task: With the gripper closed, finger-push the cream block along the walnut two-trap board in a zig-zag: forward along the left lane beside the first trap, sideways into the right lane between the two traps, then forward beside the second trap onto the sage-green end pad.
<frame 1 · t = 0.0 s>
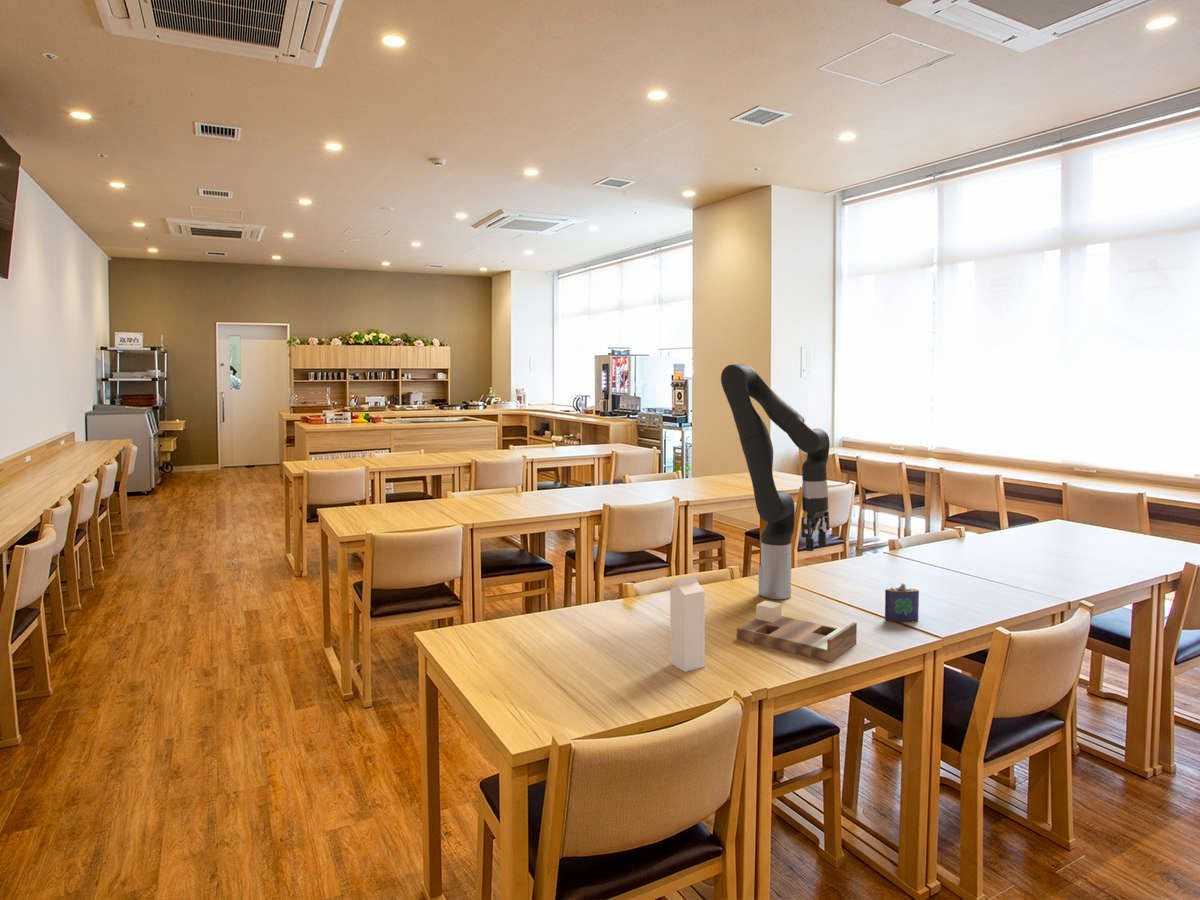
hand: (816, 548, 222), 17 cm above the table, tool pointing down, fingers open, 8 cm apart
flask: (901, 621, 207), on the table
block: (768, 618, 202), point 3 cm above the table, touching board
board: (795, 641, 193), on the table
milk: (687, 666, 178), on the table
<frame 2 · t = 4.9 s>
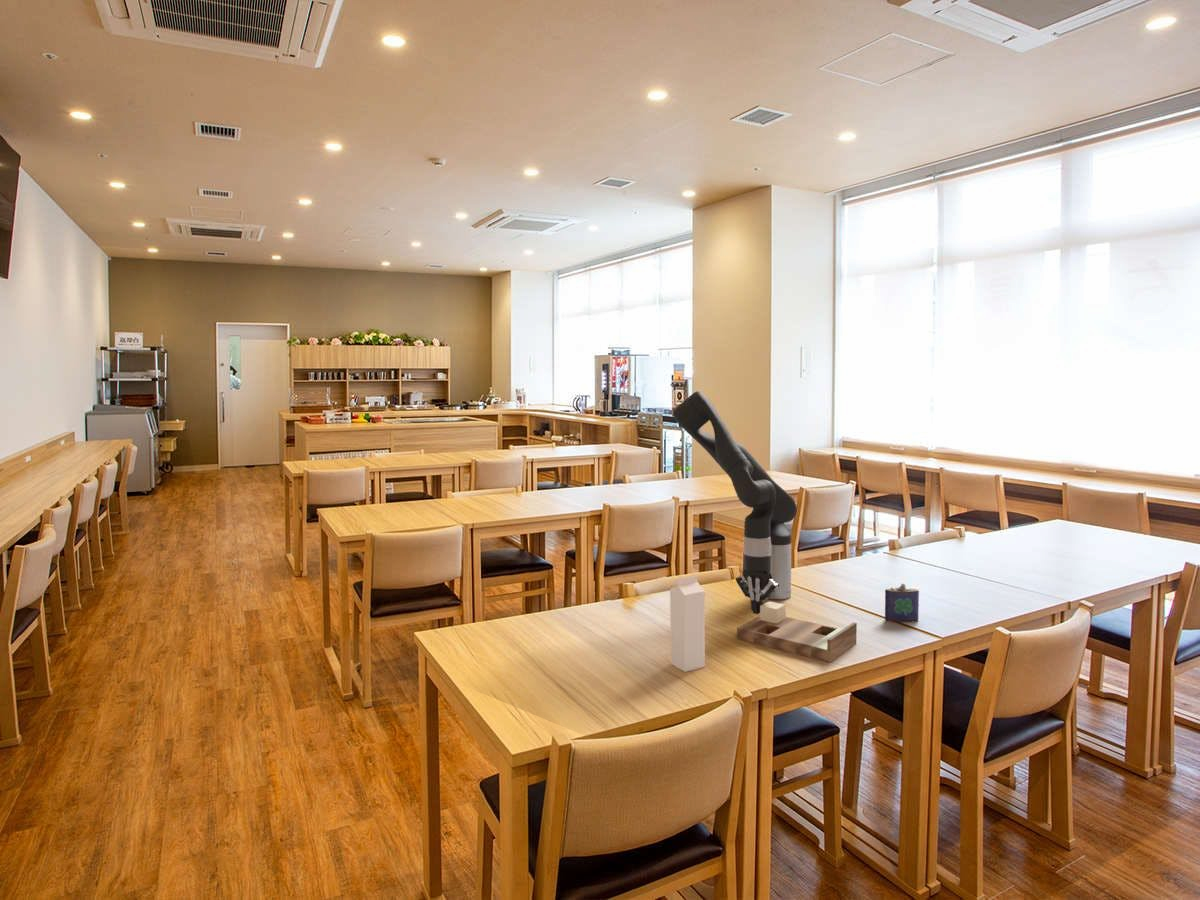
hand: (756, 613, 204), 4 cm above the table, tool pointing down, fingers closed
block: (772, 619, 201), point 3 cm above the table, touching gripper
everything else where it was.
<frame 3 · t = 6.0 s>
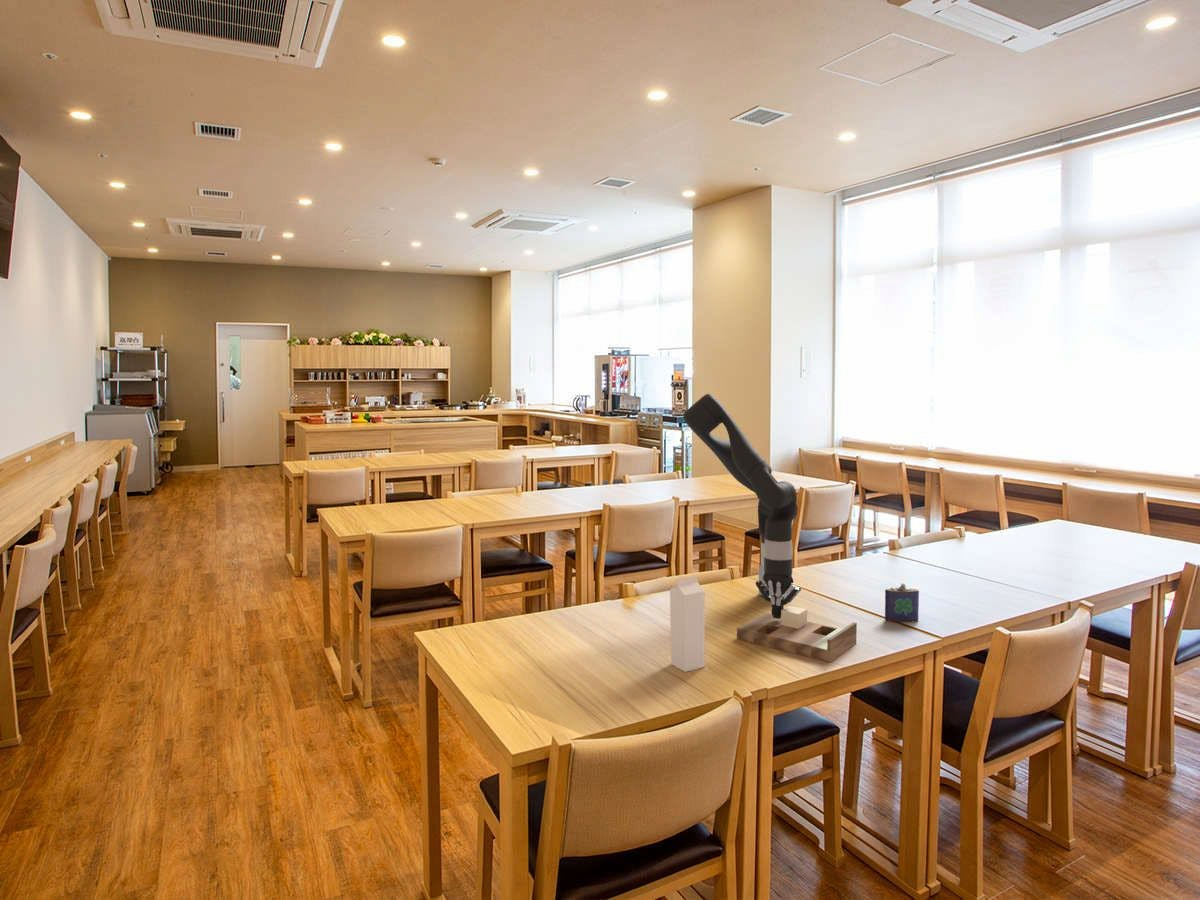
hand: (777, 617, 200), 4 cm above the table, tool pointing down, fingers closed
block: (794, 624, 197), point 3 cm above the table, touching gripper
everything else where it was.
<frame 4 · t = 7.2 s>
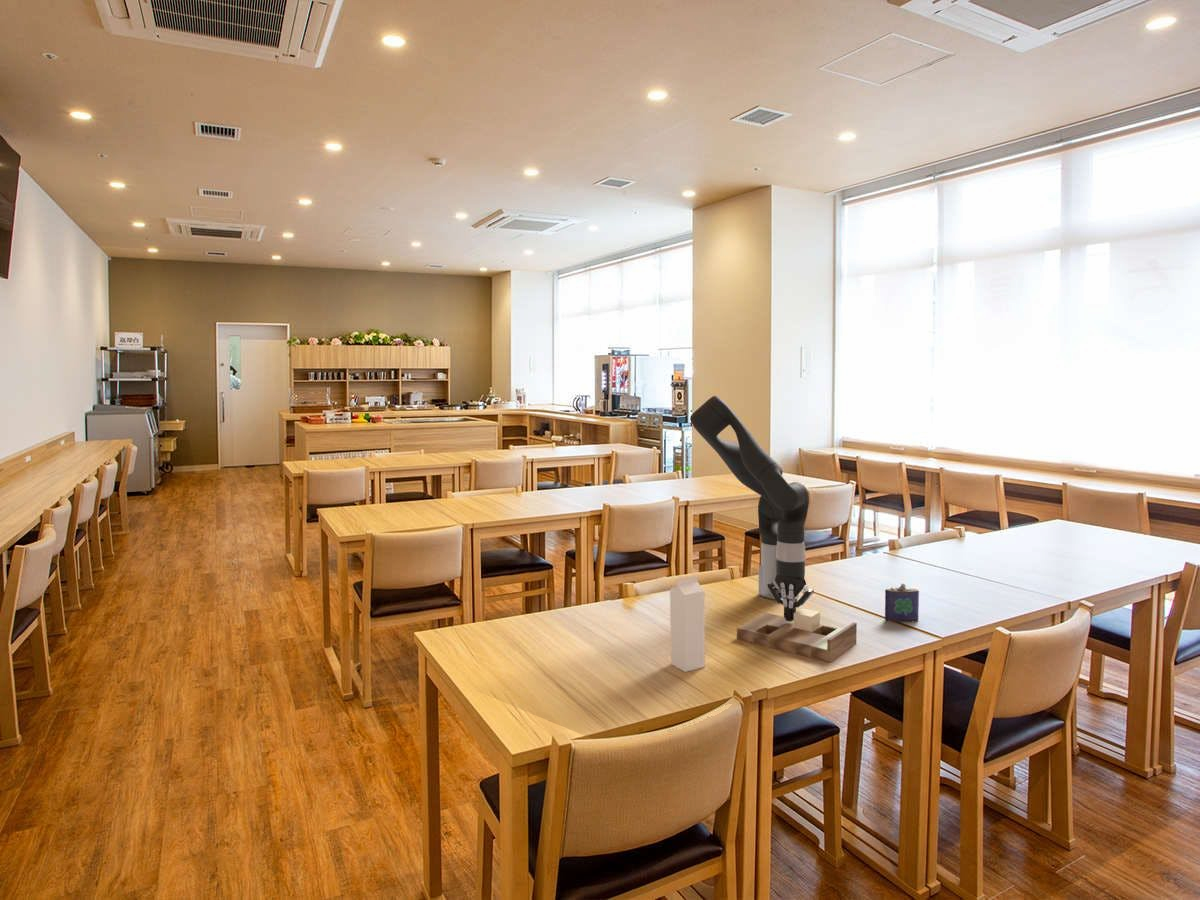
hand: (789, 620, 198), 4 cm above the table, tool pointing down, fingers closed
block: (806, 627, 195), point 3 cm above the table, touching board
everything else where it was.
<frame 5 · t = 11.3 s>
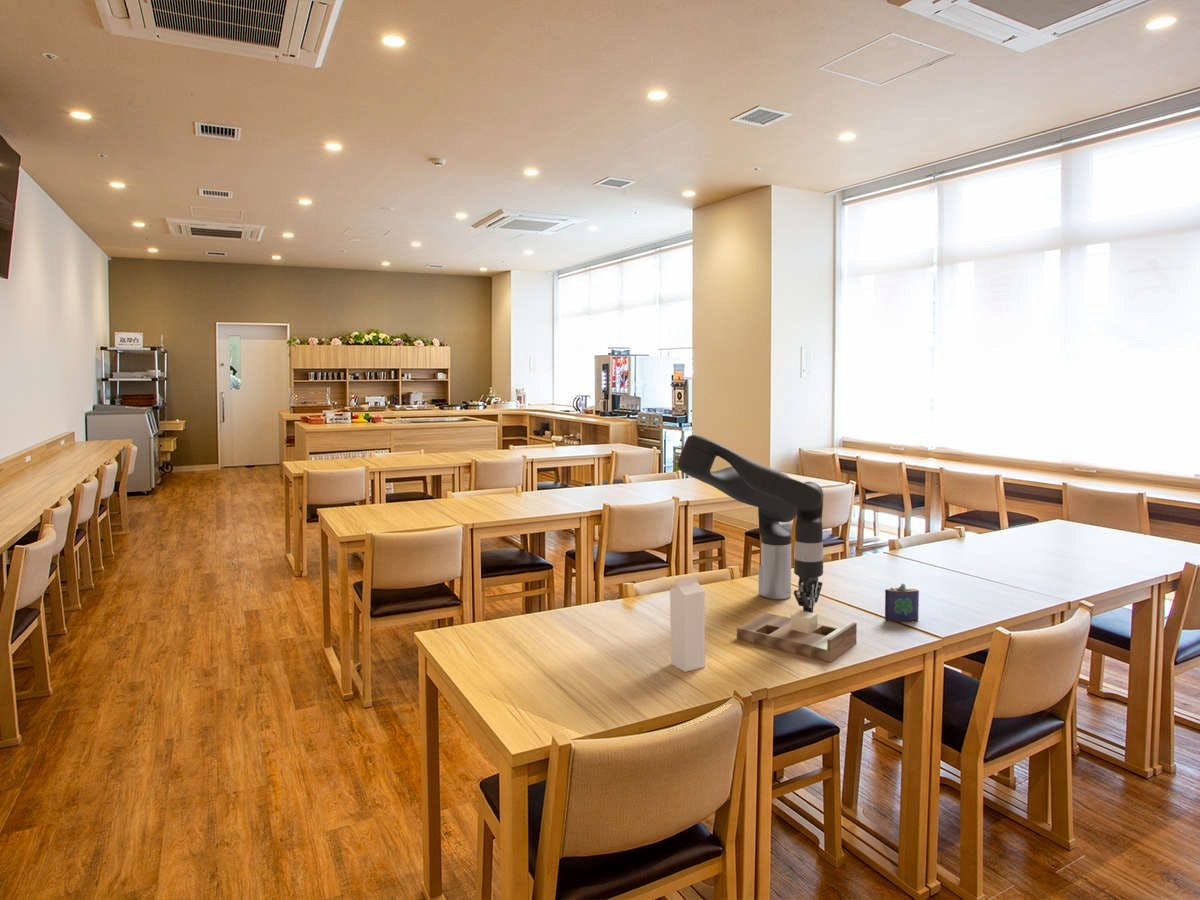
hand: (808, 620, 198), 4 cm above the table, tool pointing down, fingers closed
block: (804, 629, 193), point 3 cm above the table, touching gripper
everything else where it was.
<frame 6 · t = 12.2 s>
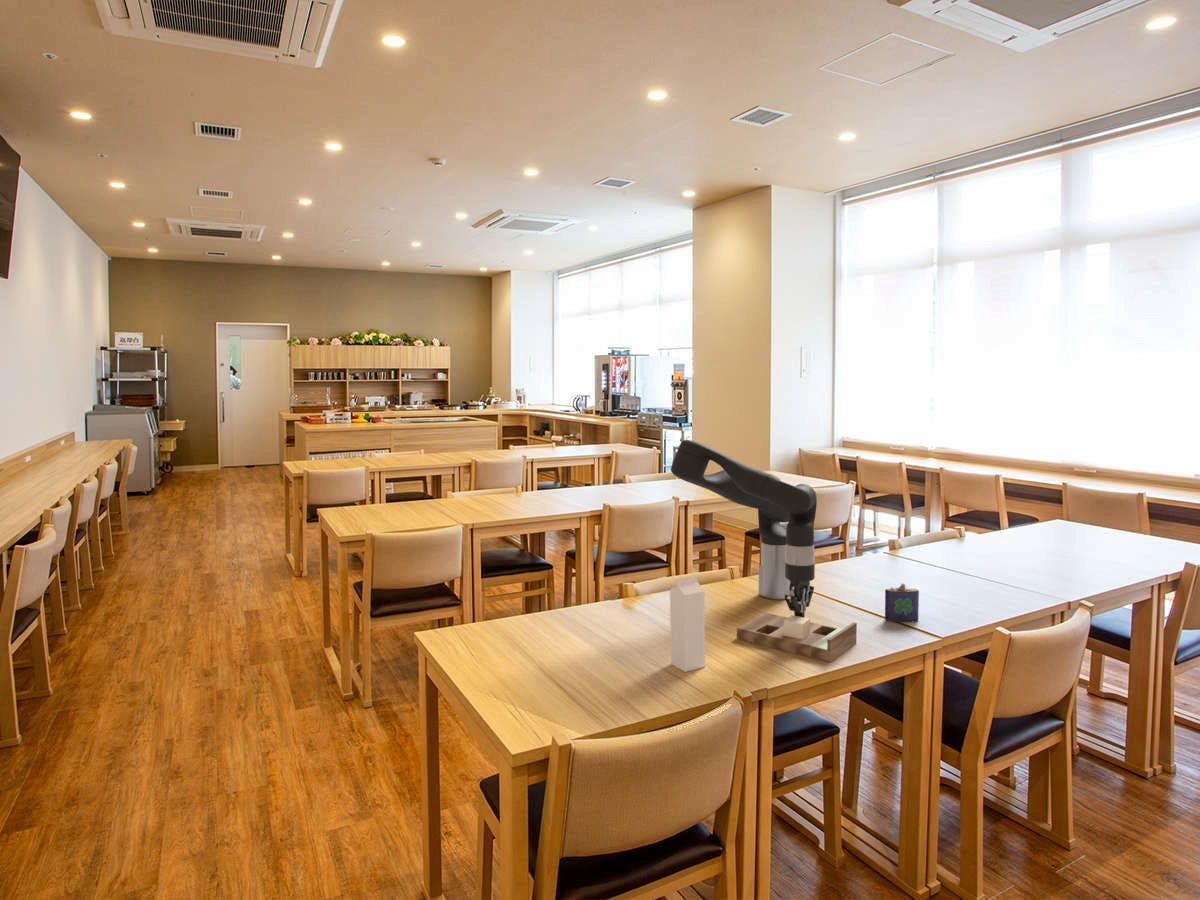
hand: (799, 624, 194), 4 cm above the table, tool pointing down, fingers closed
block: (796, 634, 189), point 3 cm above the table, touching gripper
everything else where it was.
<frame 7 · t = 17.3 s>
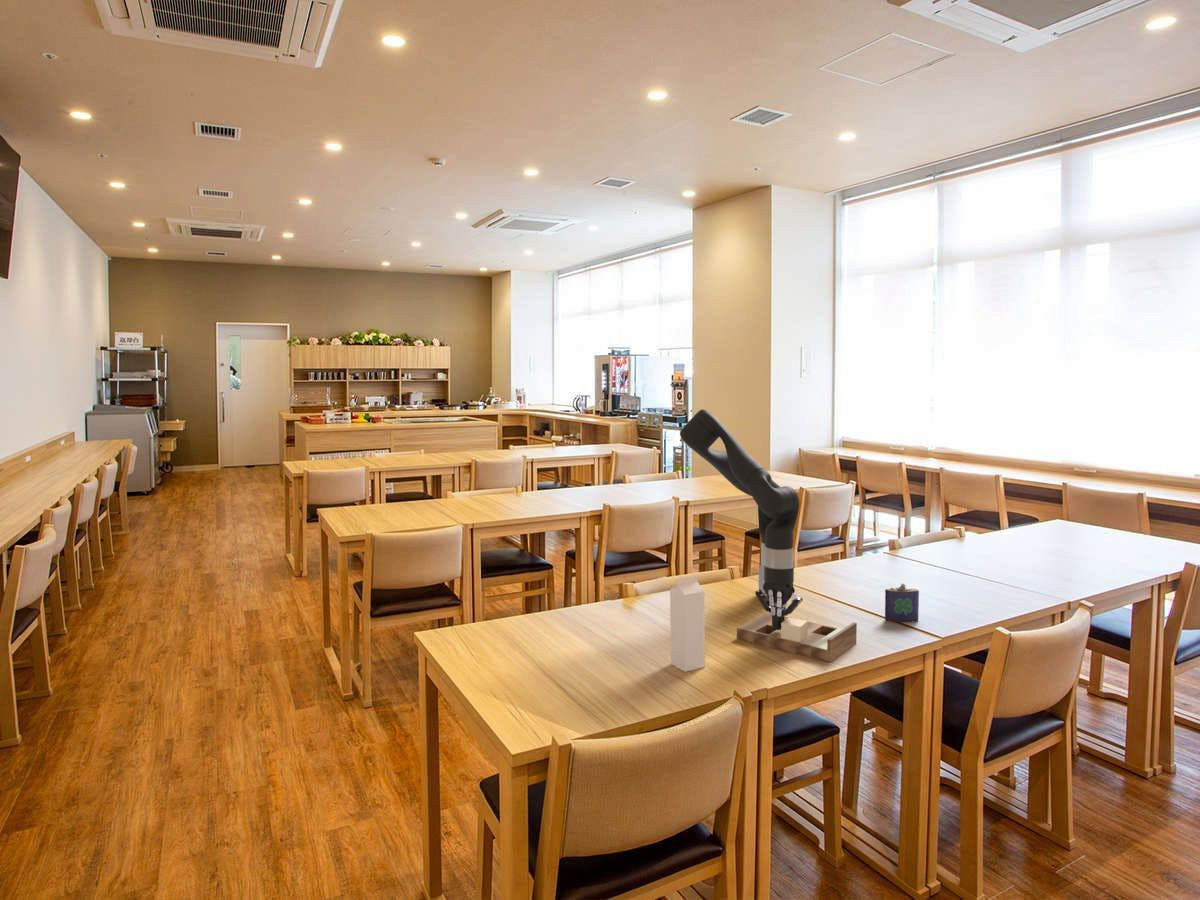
hand: (778, 628, 191), 4 cm above the table, tool pointing down, fingers closed
block: (794, 637, 187), point 3 cm above the table, touching board, gripper
everything else where it was.
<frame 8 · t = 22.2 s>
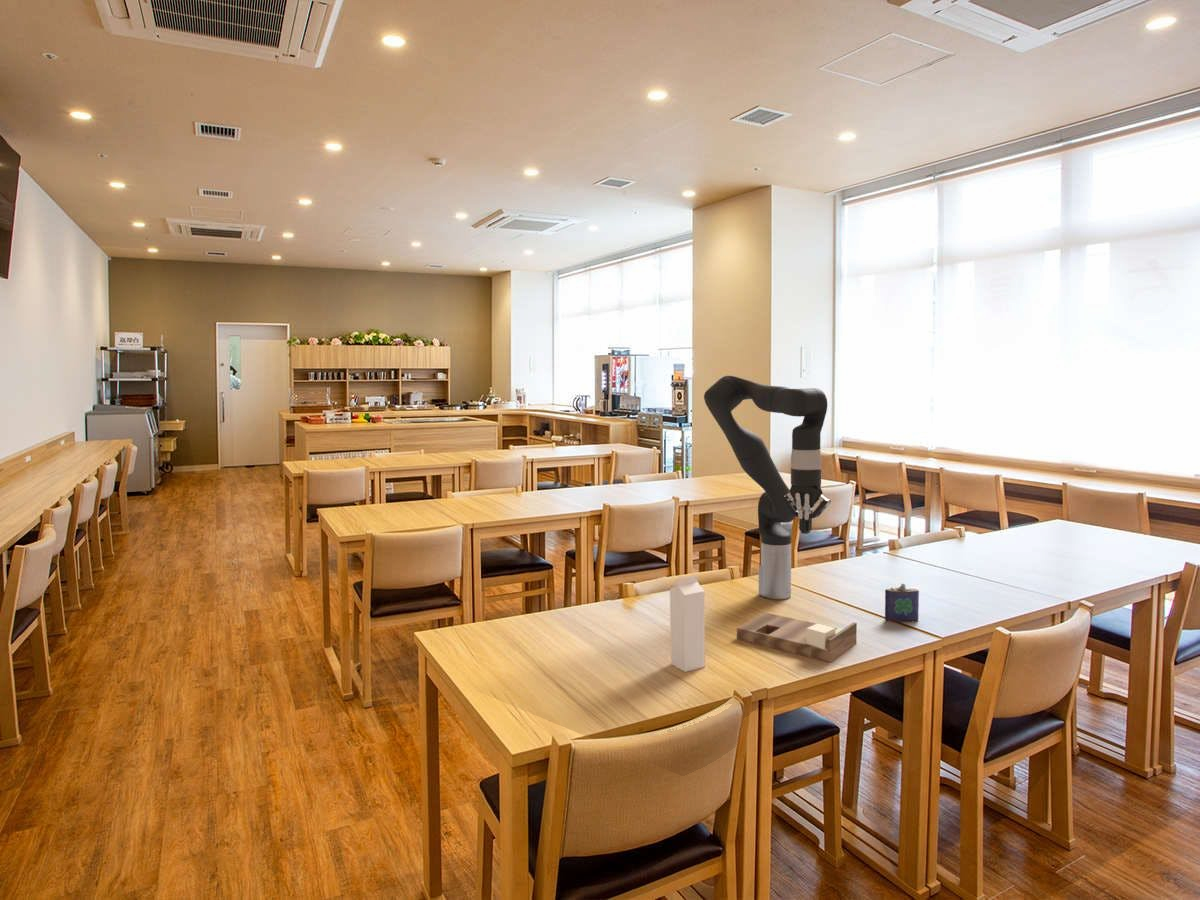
hand: (805, 533, 189), 29 cm above the table, tool pointing down, fingers closed
block: (820, 643, 183), point 3 cm above the table, touching board
everything else where it was.
at the end: block 1.1 cm from the target spot on the board, point 3.0 cm above the board's base; block tilted 0° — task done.
